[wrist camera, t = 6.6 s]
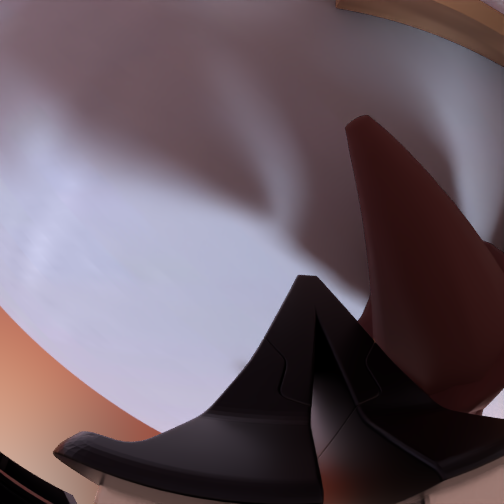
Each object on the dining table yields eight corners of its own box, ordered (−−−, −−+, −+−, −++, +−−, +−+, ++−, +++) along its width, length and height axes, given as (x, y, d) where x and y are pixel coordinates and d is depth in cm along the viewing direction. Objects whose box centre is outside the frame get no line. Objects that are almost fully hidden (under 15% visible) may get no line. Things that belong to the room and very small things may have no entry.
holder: (552, 84, 5) (596, 95, 3) (431, 395, 16) (440, 430, 13) (335, -11, 6) (353, -47, 4) (281, 397, 17) (278, 438, 14)
